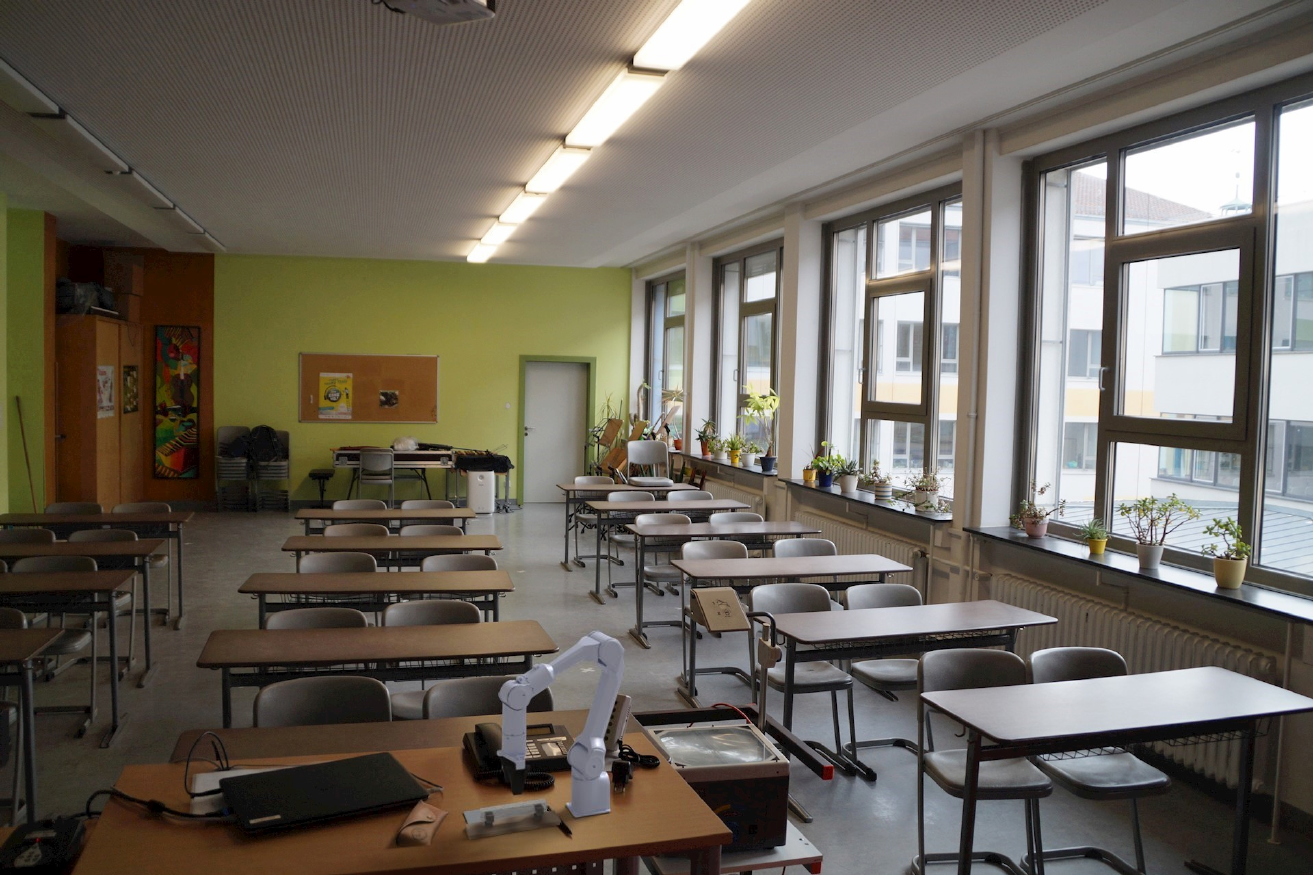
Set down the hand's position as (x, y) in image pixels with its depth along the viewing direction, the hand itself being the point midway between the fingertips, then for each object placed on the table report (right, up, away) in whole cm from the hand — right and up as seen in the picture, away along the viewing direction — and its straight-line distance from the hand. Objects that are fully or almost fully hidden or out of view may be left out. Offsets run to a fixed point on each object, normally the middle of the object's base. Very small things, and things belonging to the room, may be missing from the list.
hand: (513, 788), depth 216 cm
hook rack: (0, -9, 0) cm, 9 cm away
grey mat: (-3, -9, +8) cm, 12 cm away
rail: (0, -6, 0) cm, 6 cm away
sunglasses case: (-21, -10, -1) cm, 24 cm away
